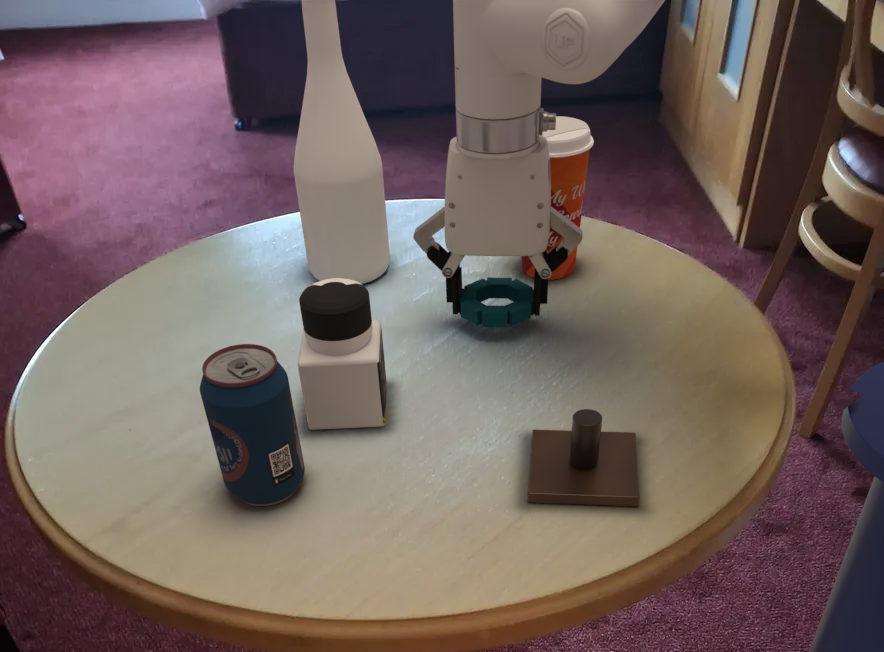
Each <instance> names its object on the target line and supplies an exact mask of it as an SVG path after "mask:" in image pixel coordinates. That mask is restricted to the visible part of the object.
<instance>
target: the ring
mask: <svg viewBox="0 0 884 652" xmlns="http://www.w3.org/2000/svg"><path fill="white" fill-rule="evenodd" d="M533 294H534V286H531V285H529V284H527V283H526V282H523V281H521V280H519V279H518V278H515V279H513V278H512V277H492V276H491V277H486V279H485V278H481V279H478V280H475V281H473V282H471V283H468V284H466V285H464V286H463V287H462V291H461V296H460V313H459V315H460V318H462V319H463V320H465V321H467V322H469V323H470V324H472V325H474V326H476V327H479V326H481V328H493V329H495V328H496V329H497V328H498V329H499V328H500V329H507V328H508V326H510V327H515V326H517V325H520V324H521V323H523V322H525V321H528V320H530V319H531V318H532V316H534V314H533ZM490 299H500V300H501V299H504V300H505V299H506V300H509V301H511V302H510V303H508V304H505V305H486V304H485V303H483V302H485V301H487V300H490Z"/></svg>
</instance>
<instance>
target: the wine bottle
mask: <svg viewBox="0 0 884 652" xmlns="http://www.w3.org/2000/svg"><path fill="white" fill-rule="evenodd" d="M301 10H302V11H301V12H302V20H303V29H304V36H305V47H306V55H307V56H306V57H307V65H306V66H307V67H306V68H307V69H306V78H305V79H306V80H305V86H304V93H303V99H302V105H301V112H300V117H299V125H298V131H297V136H296V143H295V148H294V149H295V150H294V159H293V177H294V182H295V189H296V190H295V191H296V196H297V202H298V209H299V216H300V223H301V228H302V235H303V242H304V248H305V253H306V262H307V266H308V269H309V272H310V273H311V274H312V276H313V277H314V278H315V279H316V280H318V282H319V281H322V280H326V279H332V278H343V279H350V280H354V281H357V282H359V283H361V284H362V285H364V284H367V283H370V282H373V281H374V280H377V279H378V278H380V277H381V276H382V275H384V273H385V272H386V271H387V269H388V268H389V264H390V260H391V254H390V253H391V252H390V243H389V230H388V217H387V207H386V194H385V183H384V173H383V170H384V169H383V161H382V157H381V154H380V151H379V148H378V145H377V143H376V140H375V137H374V135H373V133H372V130H371V128H370V126H369V124H368V121H367V119H366V117H365V114H364V111H363V109H362V106H361V103H360V100H359V99H358V97H357V93H356V91H355V89H354V86H353V84H352V82H351V78H350V76H349V74H348V72H347V69H346V68H347V67H346V65H345V61H344V58H343V52H342V44H341V38H340V37H341V36H340V29H339V22H338V13H337V4H336V0H301Z"/></svg>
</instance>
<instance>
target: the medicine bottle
mask: <svg viewBox="0 0 884 652" xmlns="http://www.w3.org/2000/svg"><path fill="white" fill-rule="evenodd" d="M298 302H299V309H300V315H301V320H302V326H303V329H302V335H301V341H300V347H299V353H298V358H297V369H298V376H299V381H300V387H301V388H300V389H301V393H302V399H303V404H304V411H305V416H306V422H307V427H308V429H309V430H311V431H316V430H339V429H359V428H360V429H361V428H380V427H384V426H385V425H386V417H387V416H386V415H387V414H386V413H387V389H388V388H387V387H388V383H387V371H386V362H385V350H384V341H383V340H384V339H383V330H382V329H383V328H382V323H381V321H380V320H379V319H372V309H371V301H370V292H369V289H367V287H366V286H365V285H364V284H361V283H359V282H357V281H354V280H350V279H343V278H332V279H326V280H322V281H319V280H318V281H317V282H313V283H311V284H309V285H308V286H307V287H306V288H305V289H304V290H303V291H302V293H300V295H299V298H298Z"/></svg>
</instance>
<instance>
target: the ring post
mask: <svg viewBox="0 0 884 652" xmlns="http://www.w3.org/2000/svg"><path fill="white" fill-rule="evenodd" d="M571 420H572V421H571V422H572V423H571V430H566V429H565V430H563V429H562V430H559V429H532V432H531V433H532V434H531V446H530V447H531V449H530V460H529V461H530V462H529V474H528V475H529V476H528V491H527V503H532V504H555V505H556V504H560V505H584V506H585V505H586V506H608V507H609V506H610V507H611V506H612V507H614V506H615V507H618V506H619V507H634V508H635V507H639V503H640V498H641V497H640V481H639V468H638V467H639V466H638V452H637V451H638V450H637V435H636V434H637V433H636V432H630V431H627V432H625V431H602V427H603V415H602V414H601V413H600V412H599V411H597V410H596V409H590V408H583V409H579V410H577V411H575V412H574V413H573V415H572V419H571Z"/></svg>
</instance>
